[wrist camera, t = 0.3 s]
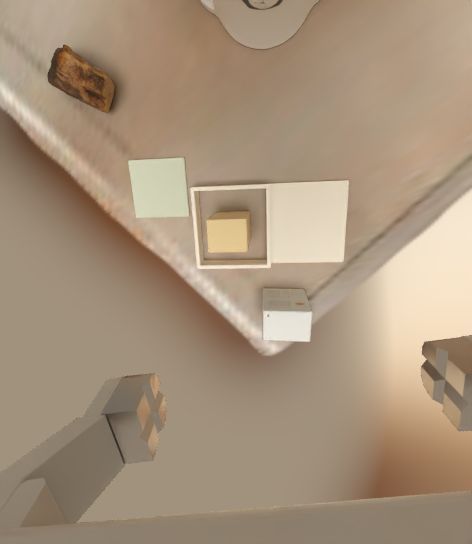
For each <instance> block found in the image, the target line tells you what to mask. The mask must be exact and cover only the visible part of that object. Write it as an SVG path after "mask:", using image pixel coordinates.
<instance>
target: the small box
mask: <svg viewBox="0 0 472 544" xmlns="http://www.w3.org/2000/svg"><path fill="white" fill-rule="evenodd" d="M311 324H312V309H311V307H310V304H309V301H308V299H307V296H306V293H305V291H304V289H282V288H263V297H262V331H263V340H270V341H306V342H307V341H308V342H310V336H311Z"/></svg>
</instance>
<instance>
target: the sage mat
mask: <svg viewBox="0 0 472 544" xmlns="http://www.w3.org/2000/svg"><path fill="white" fill-rule="evenodd" d="M128 163H129V170H130V177H131V184H132V191H133V198H134V205H135V212H136V218H152V217H183V216H190V213H189V201H188V190H187V179H186V168H185V158H167V159H148V160H129V161H128Z"/></svg>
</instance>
